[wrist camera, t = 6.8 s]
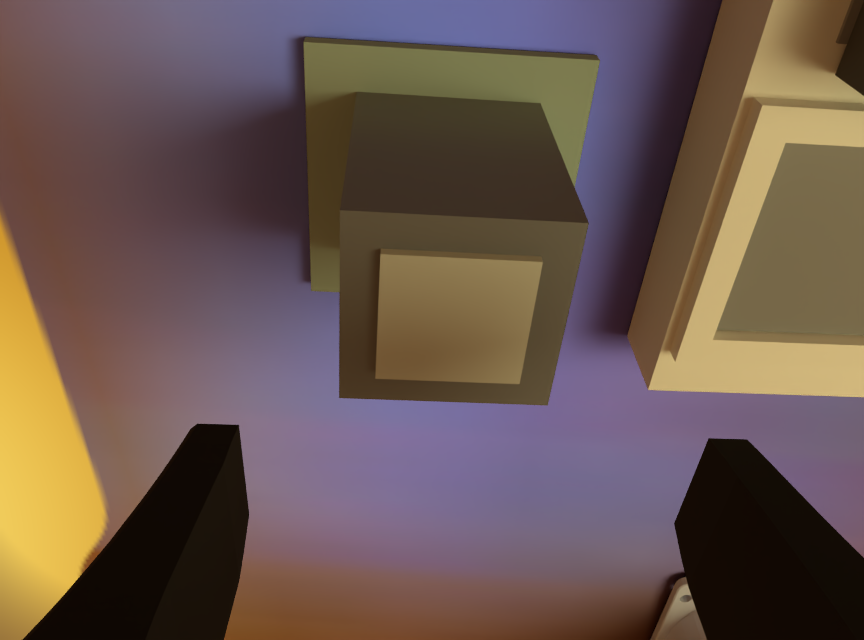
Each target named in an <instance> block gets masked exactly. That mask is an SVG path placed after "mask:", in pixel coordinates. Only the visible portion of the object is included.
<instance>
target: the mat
mask: <svg viewBox="0 0 864 640" xmlns="http://www.w3.org/2000/svg"><path fill="white" fill-rule="evenodd" d="M599 63H600V60H599V58H598V57H597V55H586V54H570V53H554V52H538V51H522V50H506V49H490V48H474V47H458V46H443V45H427V44H411V43H395V42H379V41H363V40H347V39H331V38H315V37H305V39H304V71H305V104H306V136H307V169H308V201H309V234H310V266H311V291H324V292H340V206H341V199H342V192H343V185H344V178H345V171H346V164H347V157H348V150H349V143H350V136H351V129H352V122H353V115H354V108H355V102H356V95H357V92H371V93H387V94H402V95H418V96H434V97H450V98H466V99H481V100H497V101H513V102H529V103H541V106H542V108H543V111H544V113H545V116H546V118H547V121H548V123H549V125H550V128H551V130H552V133H553V135H554V138H555V140H556V143H557V145H558V148H559V150H560V153H561V155H562V158H563V160H564V163H565V165H566V168H567V170H568V173H569V175H570V178H571V180H572V183H573V185H574V187H575V182H576V177H577V172H578V167H579V162H580V157H581V152H582V147H583V142H584V137H585V132H586V127H587V122H588V117H589V113H590V108H591V103H592V98H593V93H594V88H595V83H596V78H597V73H598V68H599Z"/></svg>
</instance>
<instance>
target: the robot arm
mask: <svg viewBox="0 0 864 640" xmlns="http://www.w3.org/2000/svg"><path fill="white" fill-rule="evenodd" d="M248 519H249V509H248V501H247V492H246V483H245V475H244V466H243V457H242V449H241V440H240V431H239V425H223V424H197V425H195V426H194V427H193V428H191V429H190V431H189V432H188V434H187V435H186V437H185V439H184V440H183V442H182V443H181V445H180V446H179V448H178V449H177V451H176V452H175V454H174V455H173V457H172V458H171V460H170V461H169V463H168V464H167V466H166V467H165V468H164V470H163V471H162V473H161V474H160V476H159V477H158V478H157V480H156V481H155V482H154V484H153V485H152V487H151V488H150V489H149V491H148V492H147V494H146V495H145V496H144V498H143V499H142V500H141V502H140V503H139V504H138V506H137V507H136V508H135V509H134V511H133V512H132V513H131V515H130V516H129V517H128V518H127V520H126V521H125V522H124V524H123V525H122V526H121V527H120V529H119V530H118V531H117V533H116V534H115V535H114V537H113V538H112V539H111V540H110V542H109V543H108V544H107V545H106V547H105V548H104V549H103V550H102V551H101V553H100V554H99V555H98V556H97V557H96V558H95V560H94V561H93V562H92V563H91V564H90V565H89V567H88V568H87V569H86V570H85V571H84V572H83V574H82V575H81V576H80V577H79V578H78V580H77V581H76V582H75V583H74V584H73V585H72V586H71V588H70V589H69V590H68V591H67V592H66V593H65V595H64V596H63V597H62V598H61V599H60V600H59V601H58V603H56V605H55V606H54V607H53V608H52V609H51V610H50V611H49V612H48V613H47V614H46V616H45V617H44V618H43V619H42V620H41V621H40V622H39V623H38V624H37V625H36V626H35V627H34V628H33V629H32V630H31V631H30V633H28V634H27V636H26V637H25V638H24V639H23V640H224V637H225V633H226V629H227V625H228V621H229V618H230V614H231V610H232V606H233V602H234V598H235V595H236V591H237V587H238V583H239V579H240V573H241V566H242V560H243V553H244V547H245V540H246V533H247V526H248ZM674 525H675V530H676V534H677V539H678V544H679V549H680V554H681V559H682V563H683V567H684V571H685V575H686V577H683V578H681V579H679V580H678V581H677V582H676V583H675V585H674V587H673V589H672V592H671V594H670V596H669V598H668V601H667V603H666V605H665V607H664V610H663V612H662V614H661V617H660V619H659V621H658V623H657V626H656V628H655V630H654V632H653V635H652V637H651V639H650V640H864V558H863V557H862V556H861V555H860V554H859V553H858V552H857V551H856V550H855V549H854V548H853V547H852V546H851V545H850V544H849V543H848V542H847V541H846V540H845V539H844V538H843V537H842V536H841V535H840V534H839V533H838V532H837V531H836V530H835V529H834V528H833V527H832V526H831V525H830V524H829V523H828V522H827V521H826V520H825V519H824V518H823V517H822V516H821V515H820V514H819V513H818V512H817V511H816V510H815V509H814V508H813V507H812V506H811V505H810V504H809V503H808V502H807V500H806V499H805V498H804V497H803V496H802V495H801V494H800V493H799V492H798V491H797V490H796V489H795V488H794V487H793V486H792V485H791V484H790V483H789V482H788V481H787V480H786V479H785V478H784V477H783V476H782V475H781V474H780V473H779V472H778V470H777V469H776V468H775V467H774V466H773V465H772V464H771V463H770V462H769V461H768V460H767V459H766V458H765V457H764V456H763V455H762V454H761V453H760V452H759V451H758V450H757V449H756V448H755V447H754V446H753V445H752V444H751V443H750V442H749V441H748V440H744V439H710V438H709V439H708V441H707V444H706V446H705V449H704V451H703V454H702V456H701V459H700V461H699V464H698V466H697V469H696V471H695V474H694V476H693V478H692V481H691V483H690V486H689V488H688V491H687V493H686V496H685V498H684V501H683V503H682V506H681V508H680V511H679V513H678V515H677V518H676V520H675V523H674Z"/></svg>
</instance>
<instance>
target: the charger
mask: <svg viewBox="0 0 864 640" xmlns="http://www.w3.org/2000/svg"><path fill="white" fill-rule="evenodd" d="M588 224H589V223H588V220H587V218H586V215H585V213H584V210H583V208H582V205H581V203H580V200H579V198H578V195H577V193H576V190H575V188H574V185H573V183H572V180H571V178H570V175H569V173H568V170H567V168H566V165H565V163H564V160H563V158H562V155H561V153H560V150H559V148H558V145H557V143H556V140H555V138H554V135H553V133H552V130H551V128H550V125H549V123H548V121H547V118H546V116H545V113H544V111H543V108H542V106H541V103H529V102H513V101H497V100H481V99H466V98H450V97H434V96H418V95H402V94H387V93H371V92H357V95H356V102H355V108H354V115H353V122H352V129H351V136H350V143H349V150H348V157H347V164H346V171H345V178H344V185H343V192H342V199H341V206H340V338H339V398H357V399H385V400H413V401H441V402H470V403H498V404H526V405H548V401H549V397H550V392H551V388H552V383H553V379H554V375H555V370H556V366H557V361H558V357H559V352H560V348H561V344H562V339H563V335H564V330H565V326H566V322H567V317H568V313H569V308H570V304H571V299H572V295H573V291H574V286H575V282H576V277H577V273H578V268H579V264H580V260H581V255H582V251H583V246H584V242H585V238H586V233H587V229H588Z"/></svg>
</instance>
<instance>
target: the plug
mask: <svg viewBox="0 0 864 640" xmlns="http://www.w3.org/2000/svg"><path fill="white" fill-rule="evenodd" d="M835 76H837V77H838V78H840V79H841V80H842V81H844V82H845V83H846V84H848V85H849V86H851V87H852V88H853V89H855V90H856V91H858V92H859V93H860V94H862V95H863V96H864V2H863V4H862V7H861V10H860V12H859V15H858V17H857V20H856V22H855V25H854V28H853V30H852V33H851V35H850V38H849V40H848V43H847V45H846V48H845V51H844V53H843V56H842V58H841V61H840V63H839V66H838V69H837V71H836V74H835Z"/></svg>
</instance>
